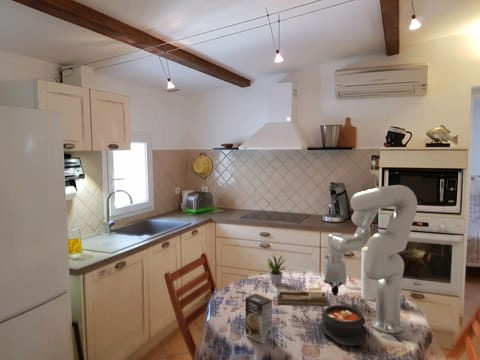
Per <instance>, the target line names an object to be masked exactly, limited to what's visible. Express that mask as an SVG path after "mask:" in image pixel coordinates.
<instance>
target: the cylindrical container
mask: <svg viewBox="0 0 480 360" xmlns="http://www.w3.org/2000/svg"><path fill="white" fill-rule="evenodd" d="M367 248H368V246H364V247H363V248H362V249H361V271H360V272H361V274H360V277H361V279H360V280H361V282H360V289H361V290H360V297H361V298H362V299H363V300H367V301H374V300H375V301H376V284H377V280H372V279H370V278H369V277H368V276H367V275H366V273H365V271H364V260H365V256H366V252H367Z"/></svg>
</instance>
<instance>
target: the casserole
mask: <svg viewBox="0 0 480 360" xmlns="http://www.w3.org/2000/svg"><path fill="white" fill-rule="evenodd" d="M321 318H322V319H321V322H320V324H319V328H320V331H321V332H322V333H323V334H325V335H327V336H328V337H330V338H331V339H332V340H334V342H336V343H337V344H339V345H343V346H344V345H345V346H361V345H365V344H366V343H367V341H368V340H367V335H368V329H367V328H366V326H365V324H366V319H365V317H364V316H363V313H362V312H361V311H360V310H358V309H357V308H354V307H352V306H349V305H341V304H339V305H338V304H336V305H331V306H327V307H326V308H325V309H324V311H323V312H322V315H321Z"/></svg>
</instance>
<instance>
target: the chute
mask: <svg viewBox="0 0 480 360" xmlns="http://www.w3.org/2000/svg"><path fill="white" fill-rule="evenodd" d="M322 292H323V299H314V298H309V291H305V290H300V291H287V290H286V291H285V290H283V291H281V290H280V288H276V299H277V302H276V303H277V305H282V306H283V305H286V306H287V305H289V306H292V305H293V306H299V305H300V306H325V307H329V306H328V305H329V303H328V298H326V295H325V294H326V293H325V292H324V291H322Z"/></svg>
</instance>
